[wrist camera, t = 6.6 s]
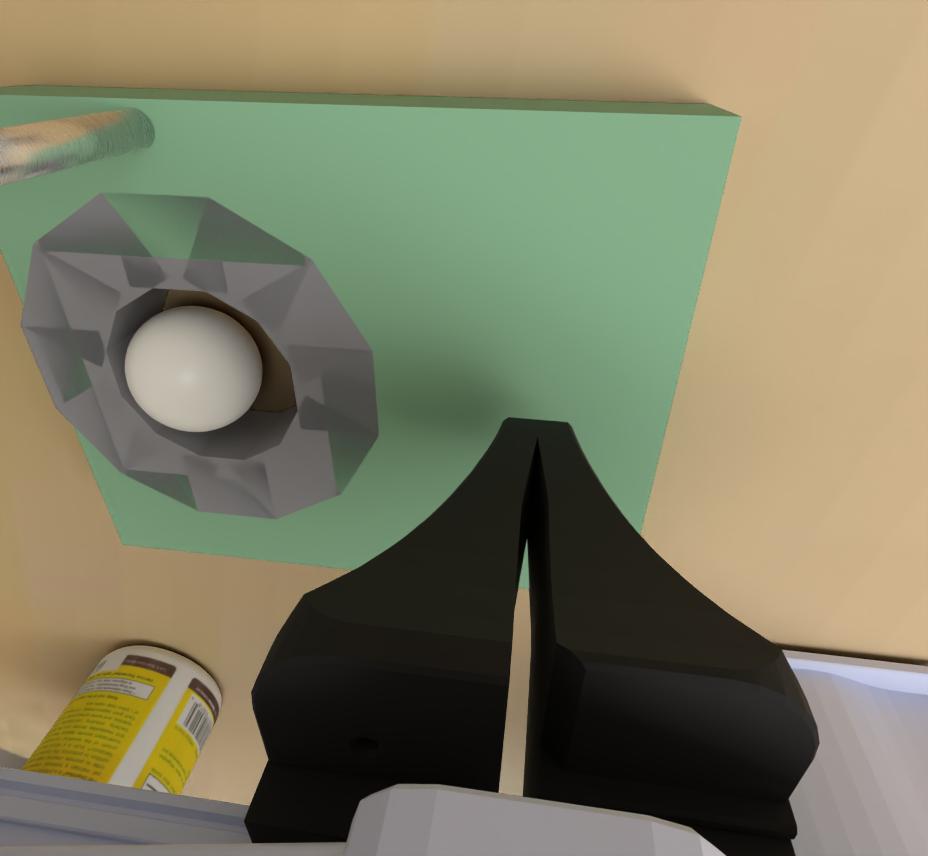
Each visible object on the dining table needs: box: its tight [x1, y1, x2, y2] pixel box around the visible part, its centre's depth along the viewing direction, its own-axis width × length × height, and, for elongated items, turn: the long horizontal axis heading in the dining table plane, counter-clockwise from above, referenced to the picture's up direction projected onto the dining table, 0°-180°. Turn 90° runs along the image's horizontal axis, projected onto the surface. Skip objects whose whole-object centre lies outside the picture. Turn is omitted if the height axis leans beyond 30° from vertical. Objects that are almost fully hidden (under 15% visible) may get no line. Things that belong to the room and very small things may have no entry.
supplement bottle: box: [21, 646, 222, 795], centre depth 22 cm, size 6×6×10 cm
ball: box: [125, 306, 263, 432], centre depth 15 cm, size 3×3×3 cm
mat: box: [0, 85, 741, 589], centre depth 15 cm, size 15×12×2 cm
